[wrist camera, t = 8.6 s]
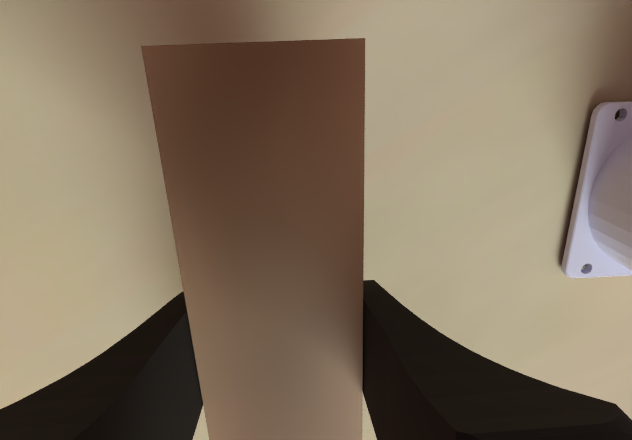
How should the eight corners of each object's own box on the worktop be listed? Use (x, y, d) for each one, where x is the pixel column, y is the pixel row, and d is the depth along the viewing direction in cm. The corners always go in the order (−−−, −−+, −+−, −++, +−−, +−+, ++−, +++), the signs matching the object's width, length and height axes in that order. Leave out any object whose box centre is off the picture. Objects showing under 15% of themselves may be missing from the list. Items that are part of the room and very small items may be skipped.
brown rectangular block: (361, 44, 11) (392, 37, 8) (359, 511, 17) (375, 615, 14) (166, 51, 11) (112, 47, 7) (239, 521, 17) (226, 629, 14)
